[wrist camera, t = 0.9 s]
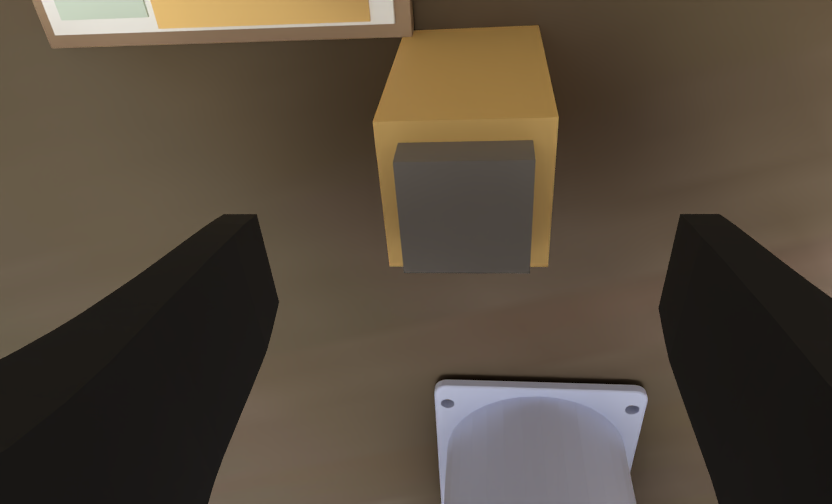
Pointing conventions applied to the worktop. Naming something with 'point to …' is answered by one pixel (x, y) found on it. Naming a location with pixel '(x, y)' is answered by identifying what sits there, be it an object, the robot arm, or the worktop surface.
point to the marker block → (468, 151)
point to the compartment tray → (218, 21)
